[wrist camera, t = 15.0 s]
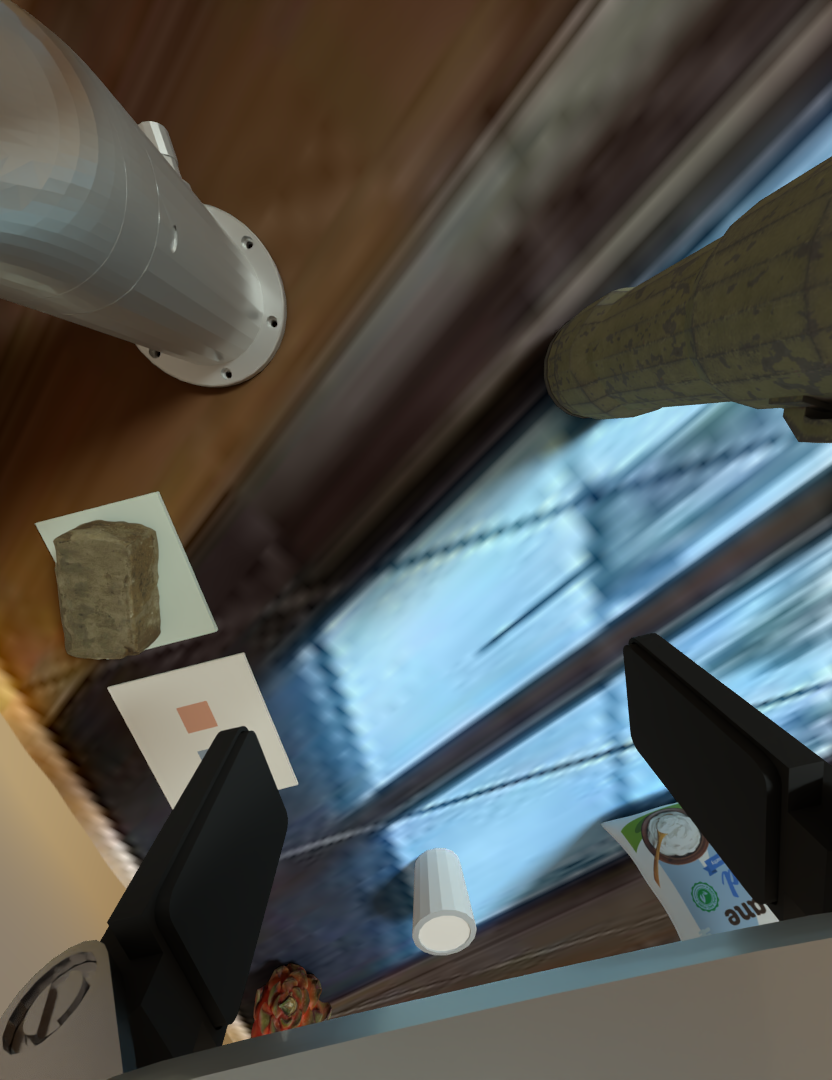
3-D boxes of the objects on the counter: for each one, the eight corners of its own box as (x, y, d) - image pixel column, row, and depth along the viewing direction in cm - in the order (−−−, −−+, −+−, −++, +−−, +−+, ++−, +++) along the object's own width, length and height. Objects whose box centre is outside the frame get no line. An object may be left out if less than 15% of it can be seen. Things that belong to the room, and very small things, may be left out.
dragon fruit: (291, 925, 52) (316, 967, 57) (226, 991, 48) (260, 1030, 53) (322, 992, 46) (348, 1032, 51) (251, 1075, 41) (287, 1111, 46)
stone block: (102, 633, 38) (61, 662, 33) (91, 514, 35) (44, 527, 30) (166, 637, 39) (134, 666, 34) (160, 521, 36) (124, 534, 31)
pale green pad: (38, 522, 35) (34, 523, 35) (158, 491, 35) (156, 491, 35) (109, 657, 39) (106, 659, 39) (218, 629, 39) (216, 631, 39)
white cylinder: (474, 871, 50) (487, 940, 43) (425, 893, 50) (430, 965, 43) (450, 835, 48) (459, 901, 41) (399, 858, 48) (400, 927, 42)
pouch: (753, 792, 49) (987, 1025, 30) (604, 840, 50) (740, 1098, 30) (747, 743, 47) (994, 959, 28) (591, 792, 48) (729, 1039, 28)
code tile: (108, 686, 40) (107, 688, 40) (243, 652, 40) (243, 653, 40) (176, 813, 45) (175, 815, 44) (298, 783, 44) (297, 784, 44)
